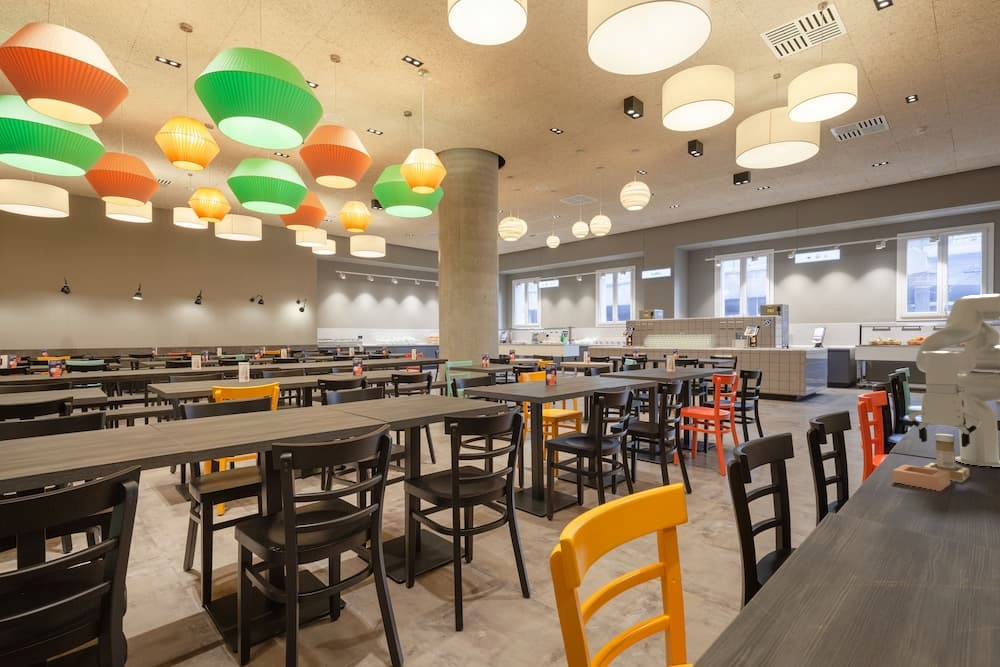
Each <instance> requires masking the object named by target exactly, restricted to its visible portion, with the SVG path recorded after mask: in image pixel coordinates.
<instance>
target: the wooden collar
mask: <svg viewBox="0 0 1000 667" xmlns="http://www.w3.org/2000/svg"><path fill="white" fill-rule="evenodd" d="M923 467H925V468H932V469H938V470H945V469H939V468H937V462H930V463H928V464H926V465H925V466H923ZM955 470H956V471H952V470H945V471H950V480H954V481H953V482H955V481H960V482H959V483H961V482H962V483H964V482H965V481H966V480H965V479H966V478H968V477H969V476H970V477H971V475H970V468H969V467H966V466H960V465H959V466H958V465H956V467H955ZM968 479H969V478H968ZM964 480H965V481H964ZM963 481H964V482H963Z"/></svg>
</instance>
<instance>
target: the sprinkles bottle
mask: <svg viewBox="0 0 1000 667" xmlns="http://www.w3.org/2000/svg"><path fill="white" fill-rule="evenodd" d="M934 440H935V447H936V449H935V454H936V463H937V468H939V469H945V470H952V471H956V470H955V467H956V466H957V465H956V463H957V462H956V461H955V457H956V456H955V455H956V454H955V435H954V434H949V433H936V434H934Z"/></svg>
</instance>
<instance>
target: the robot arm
mask: <svg viewBox="0 0 1000 667" xmlns="http://www.w3.org/2000/svg"><path fill="white" fill-rule="evenodd" d="M986 320H987V321H988V320H1000V293H991V294H979V295H967V296H962V297H959V298H957V299H956V300H955V301H954V302H953V304H952V307H951V309H950V312H949V315H948V318H947V320H946V322H945V326H943V327H942V328H939V329H938V330H937V331H935V332H933V333H932V334H931V335H929V336H927V337H926V338H925V339H924V340H923V341H922V342H921V344H920V347H919V349H918V352H917V355H916V358H915V364H916V367H917V369H918V370H919V371H920V372H922V373H925V389H926V390H925V391H926V392H924V393H923V396H922V401H921V410H918V411H915V412H913V413H909V414H908V415H907V418H909V420H910V422H911V424H912V425H913V426H915V427H916V428H917V429H918V437H919V440H920V441H921V443H925V442H927V441H928V433H927V432H928V430H927V428H926V427H927V426H928V425H931V426H932V425H933V426H942V427H950V428H951V427H952V428H958V434H959V435H958V436H959V453H960V454H959V456H955V460H956V461H958V462H961V463H960V464H962V463H964V464H963V465H966V464H970V465H969V466H971V465H978V466H977V467H979V466H992V467H1000V456H999V455H1000V454H999V453H1000V450H999V433H998V431H999V429H998V416H997V415H998V414H997V413H996V410H995V409H994V408H993V407H992V406H991V405H990V404H989V403H987V402H1000V333H999V331H998V330H997V329H996V328H995V327H994V326H992V325H990V324H989V323H988V322H986ZM961 344H964V349H963V350H943V349H945V348H948V347H953V346H956V345H961ZM919 416H921V418H920V419H921V422H919V421H918V420H917V419H916V417H919ZM956 461H955V462H956ZM958 462H957V463H958Z"/></svg>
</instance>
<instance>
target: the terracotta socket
mask: <svg viewBox="0 0 1000 667" xmlns="http://www.w3.org/2000/svg"><path fill="white" fill-rule="evenodd" d="M893 482H897V483H902V484H907V485H912V486H917V487H916V488H918V487H922V488H921V489H923V488H927V489H926V490H929V489H932V490H931V491H934V490H936V492H942V491H943V490H944V489H946V488H947V487H949V486H950V485H951V481H950V471H945V470H938V469H932V468H925V467H924V466H917V465H911V464H910V465H909V464H905V463H904V464H903V465H900V466H898V467H897V468H893V469H892V483H893ZM948 485H949V486H948ZM912 486H911V487H912ZM945 487H946V488H945Z"/></svg>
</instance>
